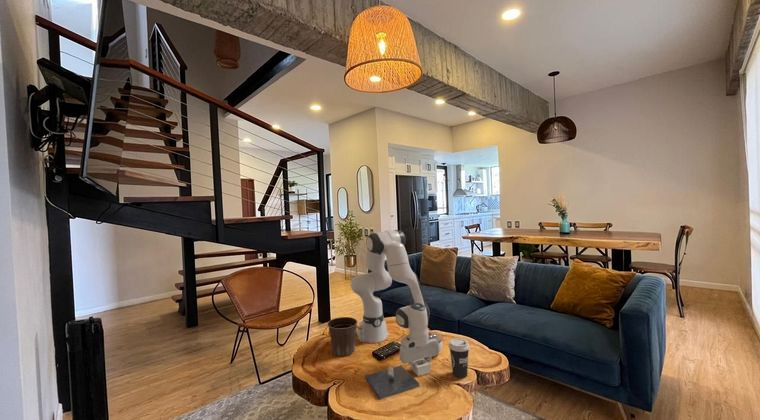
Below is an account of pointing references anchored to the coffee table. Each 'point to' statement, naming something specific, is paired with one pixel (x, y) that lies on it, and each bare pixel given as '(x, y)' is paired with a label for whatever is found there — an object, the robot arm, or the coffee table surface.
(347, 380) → the coffee table surface
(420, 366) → the collar
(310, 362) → the coffee table surface
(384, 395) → the base plate
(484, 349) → the coffee table surface
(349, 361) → the coffee table surface
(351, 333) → the plant pot
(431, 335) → the lidded bowl
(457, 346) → the coffee cup
